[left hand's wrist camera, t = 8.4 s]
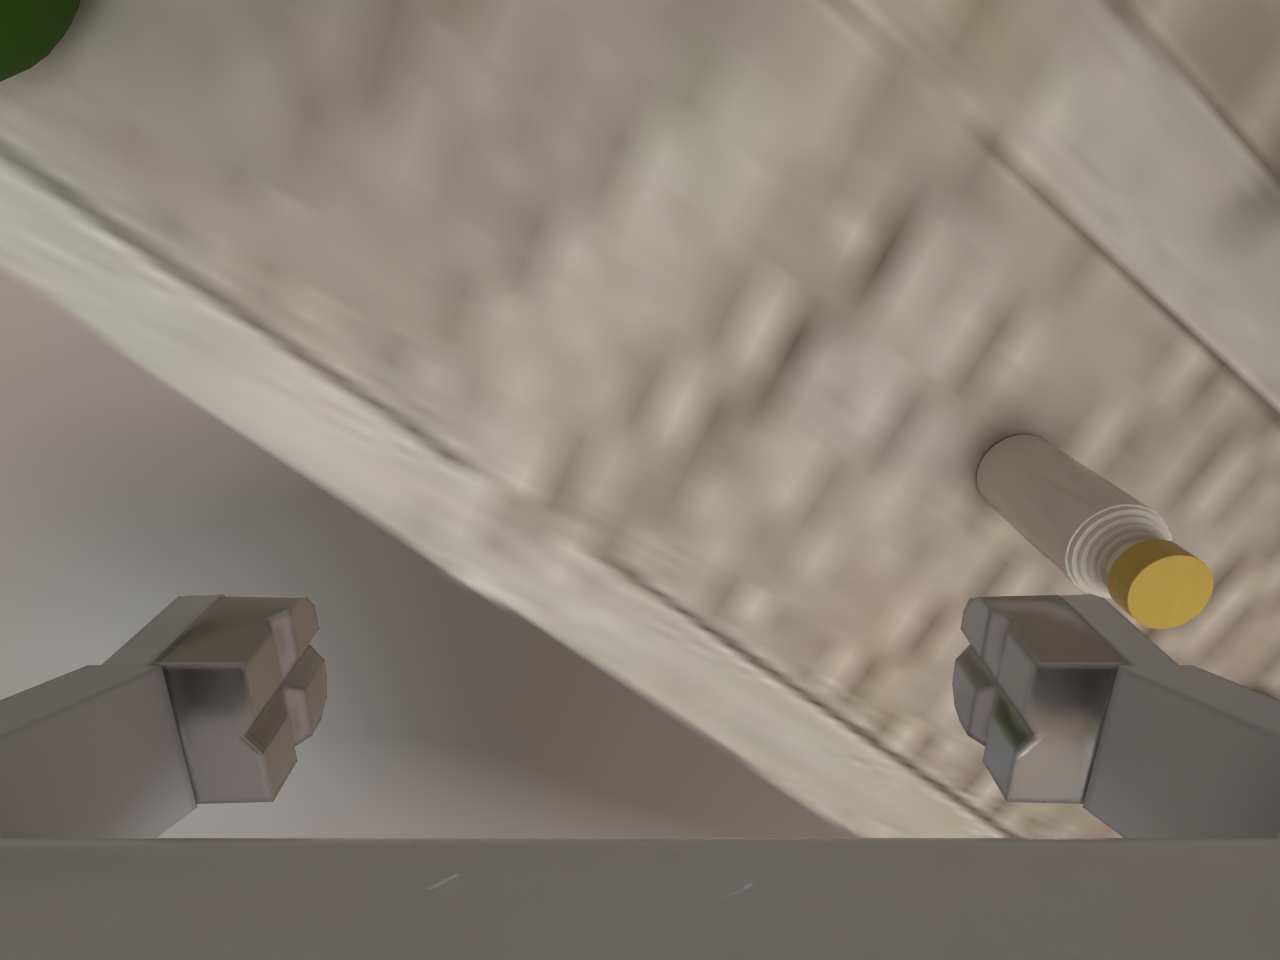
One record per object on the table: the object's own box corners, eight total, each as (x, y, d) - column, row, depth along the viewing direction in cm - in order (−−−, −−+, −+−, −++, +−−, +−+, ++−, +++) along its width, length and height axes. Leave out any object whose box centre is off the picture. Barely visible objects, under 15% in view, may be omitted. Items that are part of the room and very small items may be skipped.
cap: (1116, 621, 46) (1136, 640, 44) (1099, 556, 44) (1119, 573, 43) (1195, 593, 45) (1220, 611, 43) (1181, 526, 44) (1206, 542, 42)
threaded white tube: (987, 522, 62) (1120, 653, 45) (966, 453, 60) (1096, 563, 43) (1066, 492, 61) (1233, 614, 44) (1048, 421, 59) (1214, 520, 42)
